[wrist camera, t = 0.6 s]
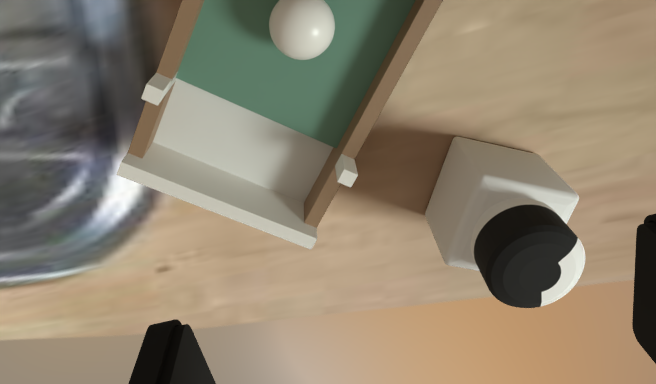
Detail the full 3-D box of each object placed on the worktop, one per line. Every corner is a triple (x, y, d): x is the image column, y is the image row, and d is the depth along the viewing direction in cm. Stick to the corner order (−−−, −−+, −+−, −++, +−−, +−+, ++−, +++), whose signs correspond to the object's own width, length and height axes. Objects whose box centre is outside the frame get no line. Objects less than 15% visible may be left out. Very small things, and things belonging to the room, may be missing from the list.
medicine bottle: (422, 215, 44) (462, 312, 33) (452, 133, 41) (507, 212, 30) (504, 231, 45) (568, 330, 34) (540, 153, 42) (622, 236, 31)
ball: (286, -25, 34) (284, -17, 30) (343, 5, 35) (349, 16, 31) (260, 35, 35) (256, 49, 32) (316, 62, 36) (318, 78, 33)
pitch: (260, -196, 31) (252, -218, 26) (466, -75, 34) (497, -72, 29) (136, 145, 40) (112, 181, 35) (309, 214, 43) (311, 257, 38)
